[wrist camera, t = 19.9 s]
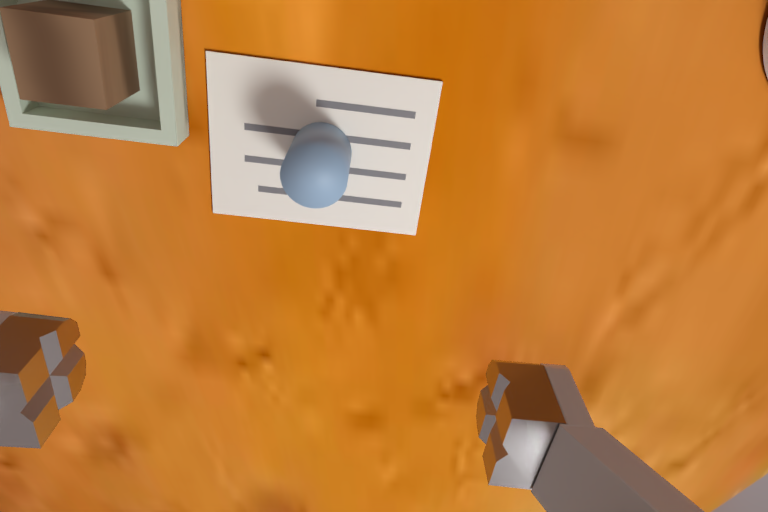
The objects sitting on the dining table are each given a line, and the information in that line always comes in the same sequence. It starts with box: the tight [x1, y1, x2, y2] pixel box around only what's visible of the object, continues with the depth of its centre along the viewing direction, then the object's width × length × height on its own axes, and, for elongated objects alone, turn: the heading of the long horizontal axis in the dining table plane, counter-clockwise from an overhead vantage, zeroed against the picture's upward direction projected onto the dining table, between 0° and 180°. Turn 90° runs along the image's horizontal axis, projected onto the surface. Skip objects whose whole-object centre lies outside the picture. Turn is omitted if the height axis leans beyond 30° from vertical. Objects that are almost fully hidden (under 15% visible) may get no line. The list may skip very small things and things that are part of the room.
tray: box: [0, 0, 189, 146], centre depth 34 cm, size 11×11×2 cm
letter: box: [206, 51, 443, 235], centre depth 38 cm, size 16×12×1 cm
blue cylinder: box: [280, 122, 352, 208], centre depth 36 cm, size 4×4×5 cm
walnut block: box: [0, 0, 140, 110], centre depth 32 cm, size 5×5×5 cm
